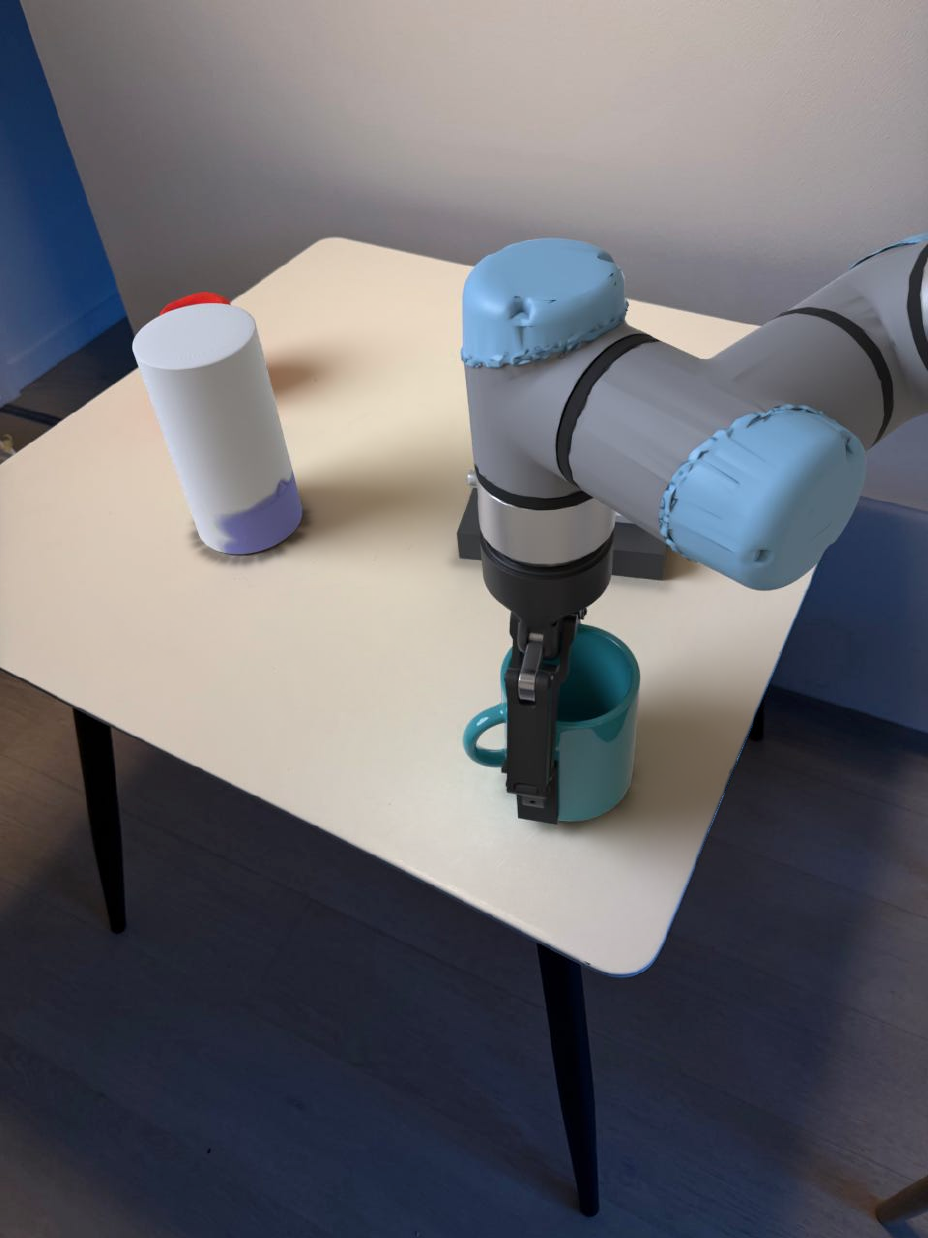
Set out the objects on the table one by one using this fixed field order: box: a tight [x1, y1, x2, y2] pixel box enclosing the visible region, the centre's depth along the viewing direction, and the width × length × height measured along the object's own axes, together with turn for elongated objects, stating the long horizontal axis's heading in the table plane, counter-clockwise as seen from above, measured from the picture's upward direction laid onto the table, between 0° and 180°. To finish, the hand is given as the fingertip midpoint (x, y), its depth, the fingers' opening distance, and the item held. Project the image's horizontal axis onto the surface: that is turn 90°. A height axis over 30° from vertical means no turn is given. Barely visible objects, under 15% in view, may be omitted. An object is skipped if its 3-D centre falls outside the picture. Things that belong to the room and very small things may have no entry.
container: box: [131, 303, 303, 555], centre depth 87 cm, size 10×10×20 cm
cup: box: [462, 622, 641, 823], centre depth 68 cm, size 9×12×11 cm
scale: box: [456, 488, 669, 581], centre depth 91 cm, size 18×16×4 cm
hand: (550, 759), depth 71 cm, fingers closed on cup, 9 cm apart
